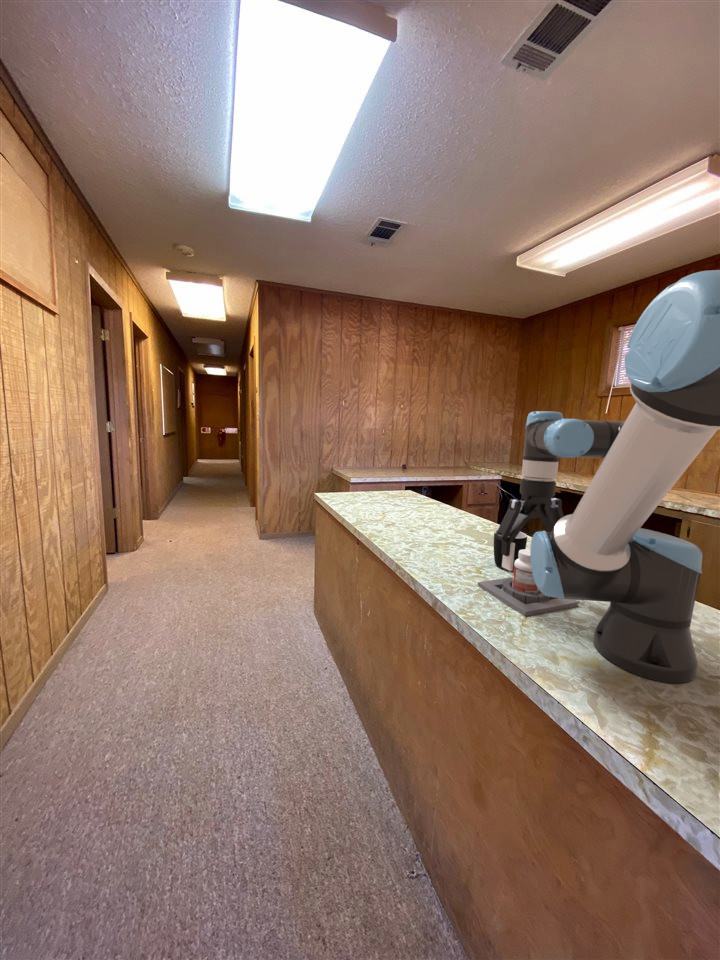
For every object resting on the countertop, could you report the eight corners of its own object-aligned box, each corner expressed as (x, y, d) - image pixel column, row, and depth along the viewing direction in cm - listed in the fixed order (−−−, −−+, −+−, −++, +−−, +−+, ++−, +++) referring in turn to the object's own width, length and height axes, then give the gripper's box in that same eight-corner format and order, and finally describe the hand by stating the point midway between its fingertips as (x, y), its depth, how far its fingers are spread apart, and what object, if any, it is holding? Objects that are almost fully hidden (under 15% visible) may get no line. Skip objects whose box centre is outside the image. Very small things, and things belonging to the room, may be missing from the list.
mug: (529, 573, 107) (533, 538, 106) (497, 572, 107) (501, 537, 105) (512, 558, 119) (515, 526, 117) (483, 556, 119) (486, 525, 117)
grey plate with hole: (577, 605, 88) (578, 597, 88) (524, 616, 83) (525, 606, 82) (525, 578, 103) (526, 571, 103) (477, 585, 97) (478, 577, 97)
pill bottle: (518, 587, 97) (523, 546, 95) (542, 597, 92) (548, 553, 91) (506, 594, 93) (510, 551, 91) (530, 604, 88) (535, 558, 87)
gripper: (564, 476, 96) (554, 556, 99) (484, 477, 87) (476, 565, 90) (591, 480, 89) (580, 566, 92) (507, 481, 80) (498, 577, 83)
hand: (529, 566), depth 91 cm, fingers open, 13 cm apart
